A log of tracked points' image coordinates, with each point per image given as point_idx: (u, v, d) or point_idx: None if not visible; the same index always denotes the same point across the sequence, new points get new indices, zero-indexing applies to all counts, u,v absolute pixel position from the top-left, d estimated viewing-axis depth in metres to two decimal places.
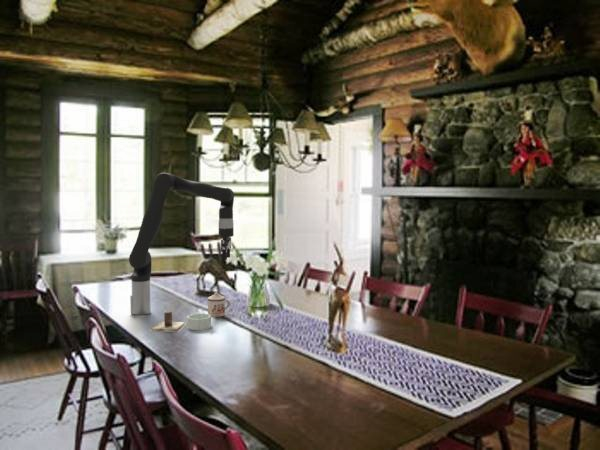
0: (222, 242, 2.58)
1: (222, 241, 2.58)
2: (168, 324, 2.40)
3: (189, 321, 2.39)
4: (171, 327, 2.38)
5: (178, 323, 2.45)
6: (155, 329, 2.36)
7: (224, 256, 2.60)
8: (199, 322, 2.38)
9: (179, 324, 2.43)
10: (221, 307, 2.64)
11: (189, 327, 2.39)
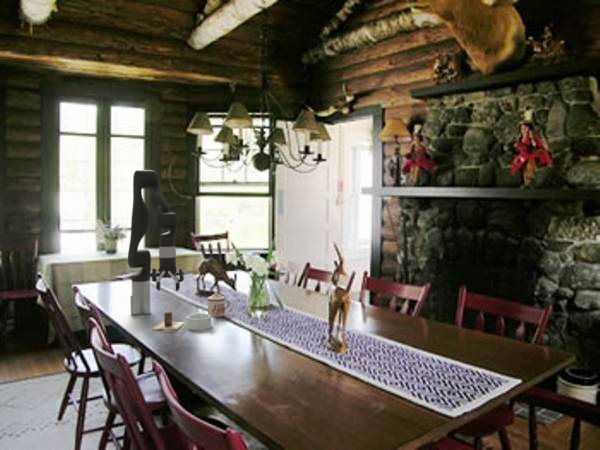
0: (182, 271, 2.39)
1: (182, 270, 2.39)
2: (168, 324, 2.40)
3: (189, 321, 2.39)
4: (171, 327, 2.38)
5: (178, 323, 2.45)
6: (155, 329, 2.36)
7: (179, 286, 2.40)
8: (199, 322, 2.38)
9: (179, 324, 2.43)
10: (221, 307, 2.64)
11: (189, 327, 2.39)
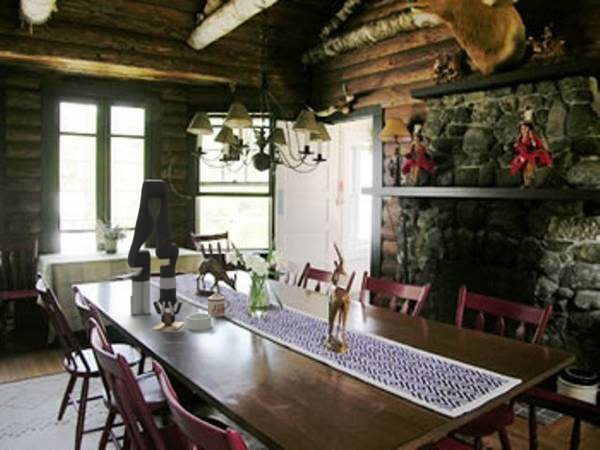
0: (181, 305, 2.40)
1: (181, 304, 2.40)
2: (168, 324, 2.40)
3: (189, 321, 2.39)
4: (171, 327, 2.38)
5: (178, 323, 2.45)
6: (155, 329, 2.36)
7: (174, 318, 2.42)
8: (199, 322, 2.38)
9: (179, 324, 2.43)
10: (221, 307, 2.64)
11: (189, 327, 2.39)
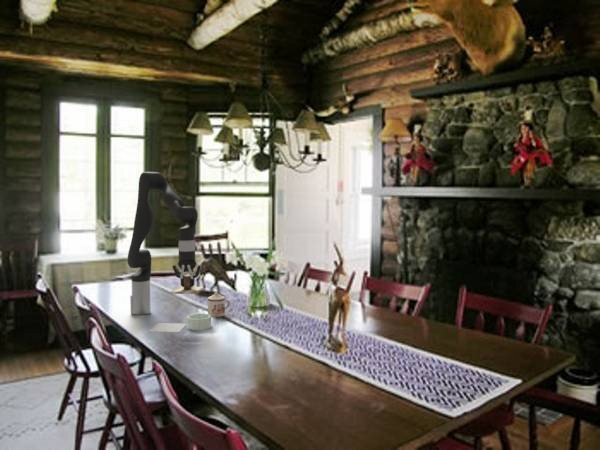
0: (200, 268, 2.39)
1: (200, 267, 2.39)
2: (187, 288, 2.39)
3: (189, 321, 2.39)
4: (190, 290, 2.37)
5: (197, 287, 2.43)
6: (174, 292, 2.35)
7: None
8: (199, 322, 2.38)
9: (198, 288, 2.42)
10: (221, 307, 2.64)
11: (189, 327, 2.39)
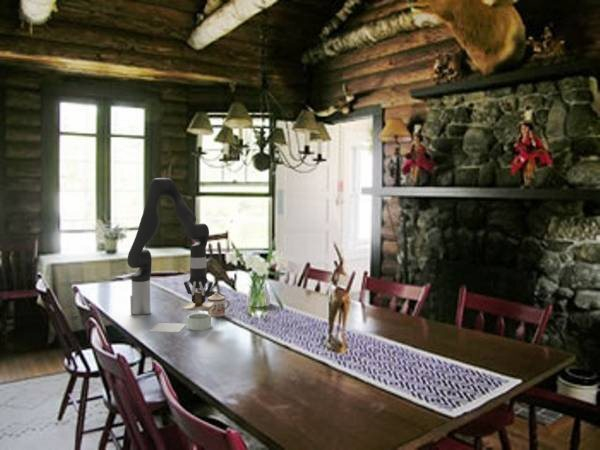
0: (211, 285, 2.41)
1: (211, 284, 2.41)
2: (199, 304, 2.41)
3: (189, 321, 2.39)
4: (202, 307, 2.38)
5: (208, 303, 2.45)
6: (186, 309, 2.37)
7: (205, 299, 2.42)
8: (199, 322, 2.38)
9: (209, 304, 2.44)
10: (221, 307, 2.64)
11: (189, 327, 2.39)
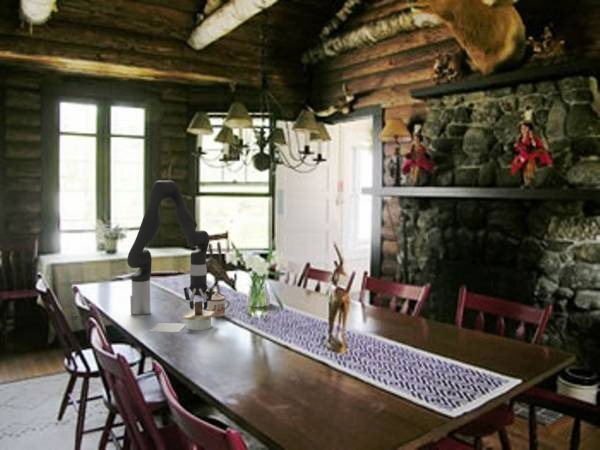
0: (212, 290, 2.41)
1: (212, 289, 2.41)
2: (199, 313, 2.41)
3: (189, 321, 2.39)
4: (202, 316, 2.39)
5: (208, 312, 2.46)
6: (186, 318, 2.37)
7: (207, 305, 2.42)
8: (199, 322, 2.38)
9: (209, 313, 2.44)
10: (221, 307, 2.64)
11: (189, 327, 2.39)
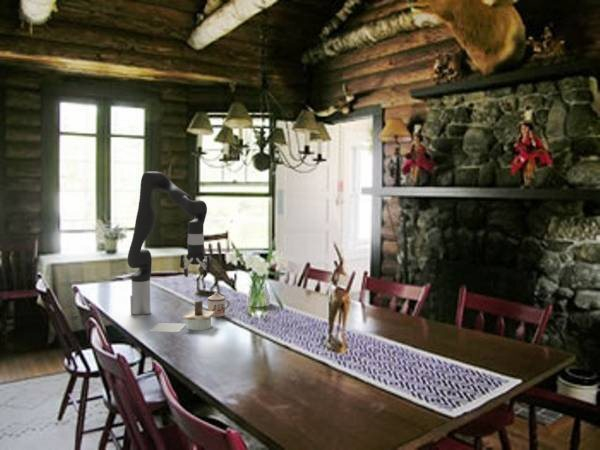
0: (209, 258, 2.43)
1: (209, 257, 2.43)
2: (199, 313, 2.41)
3: (189, 321, 2.39)
4: (202, 316, 2.39)
5: (208, 312, 2.46)
6: (186, 318, 2.37)
7: (206, 273, 2.44)
8: (199, 322, 2.38)
9: (209, 313, 2.44)
10: (221, 307, 2.64)
11: (189, 327, 2.39)
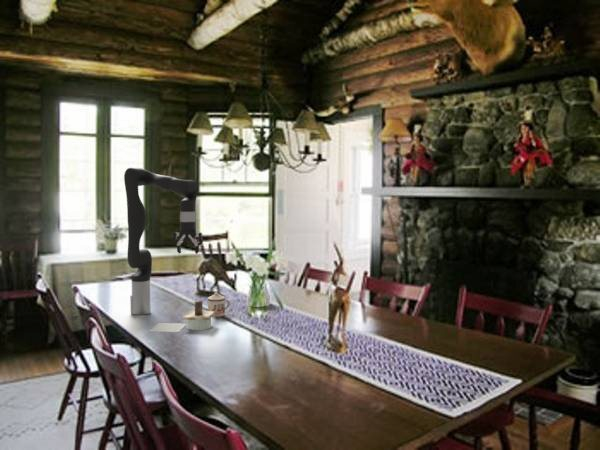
0: (201, 235, 2.54)
1: (201, 234, 2.54)
2: (199, 313, 2.41)
3: (189, 321, 2.39)
4: (202, 316, 2.39)
5: (208, 312, 2.46)
6: (186, 318, 2.37)
7: (198, 249, 2.56)
8: (199, 322, 2.38)
9: (209, 313, 2.44)
10: (221, 307, 2.64)
11: (189, 327, 2.39)
